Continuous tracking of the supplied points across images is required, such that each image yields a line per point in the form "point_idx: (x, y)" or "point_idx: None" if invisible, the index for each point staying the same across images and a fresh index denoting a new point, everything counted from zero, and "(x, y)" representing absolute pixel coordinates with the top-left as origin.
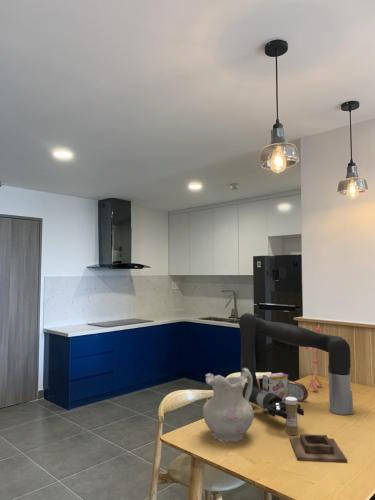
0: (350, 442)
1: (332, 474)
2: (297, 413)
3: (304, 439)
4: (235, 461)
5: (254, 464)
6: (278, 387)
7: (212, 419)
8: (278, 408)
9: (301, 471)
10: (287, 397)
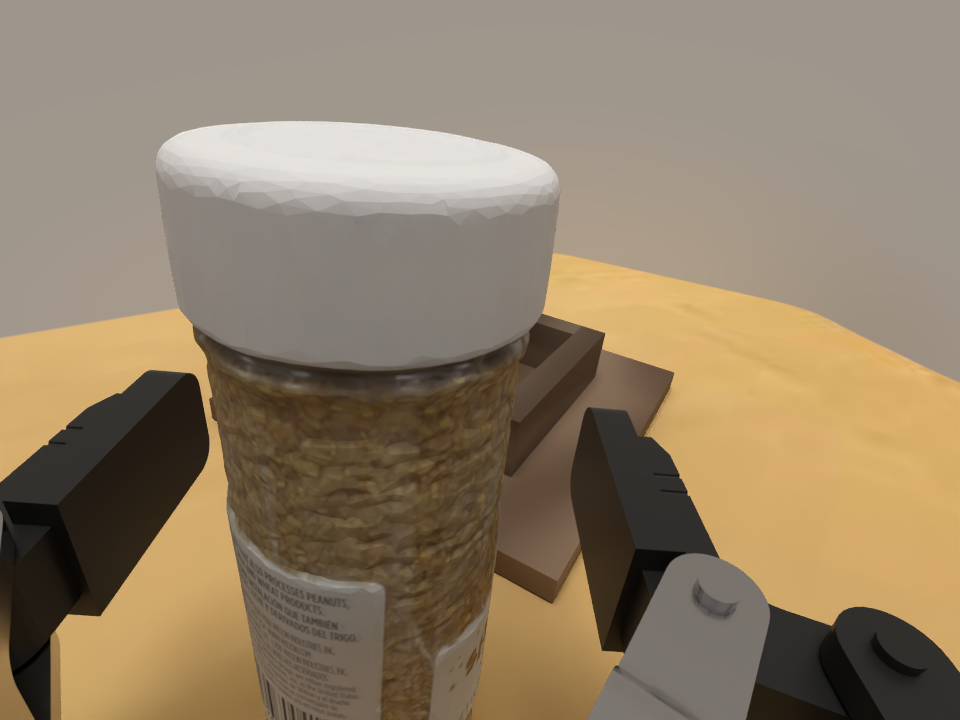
0: (135, 371)
1: (569, 301)
2: (130, 572)
3: (552, 366)
4: None
5: None
6: None
7: None
8: (673, 661)
9: (695, 344)
10: (428, 159)
